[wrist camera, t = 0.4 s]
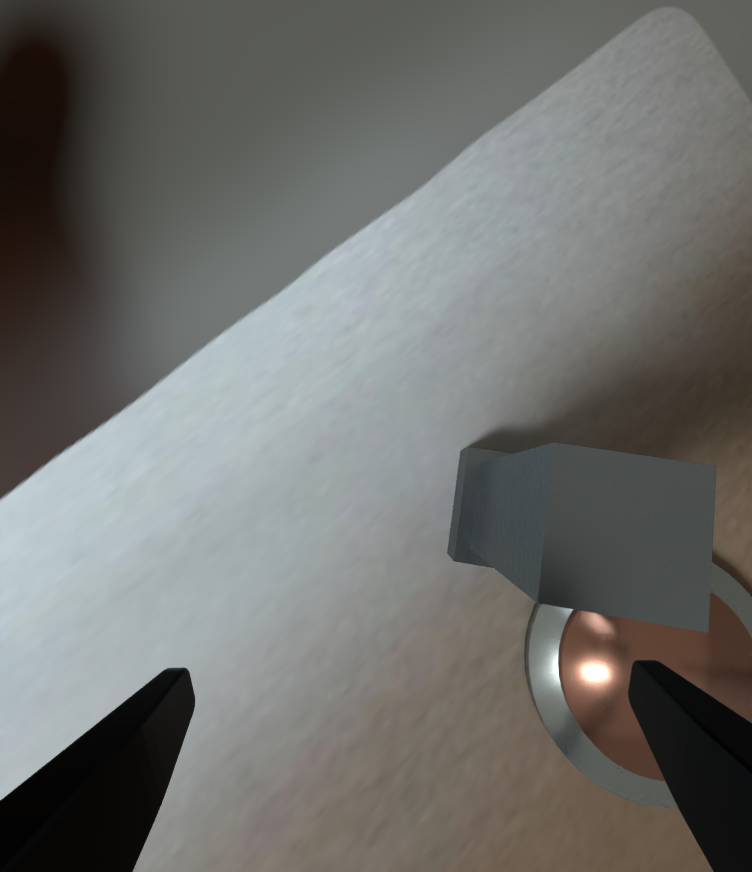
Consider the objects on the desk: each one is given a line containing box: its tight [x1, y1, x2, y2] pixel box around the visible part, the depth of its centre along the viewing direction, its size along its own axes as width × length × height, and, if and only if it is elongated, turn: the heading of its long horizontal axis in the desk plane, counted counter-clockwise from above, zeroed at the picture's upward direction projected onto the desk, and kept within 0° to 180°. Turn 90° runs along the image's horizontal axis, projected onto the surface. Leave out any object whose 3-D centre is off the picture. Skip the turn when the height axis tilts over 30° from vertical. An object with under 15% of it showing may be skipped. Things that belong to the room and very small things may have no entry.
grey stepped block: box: [447, 442, 716, 633], centre depth 17 cm, size 6×6×12 cm
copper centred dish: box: [524, 563, 752, 807], centre depth 21 cm, size 13×13×1 cm
